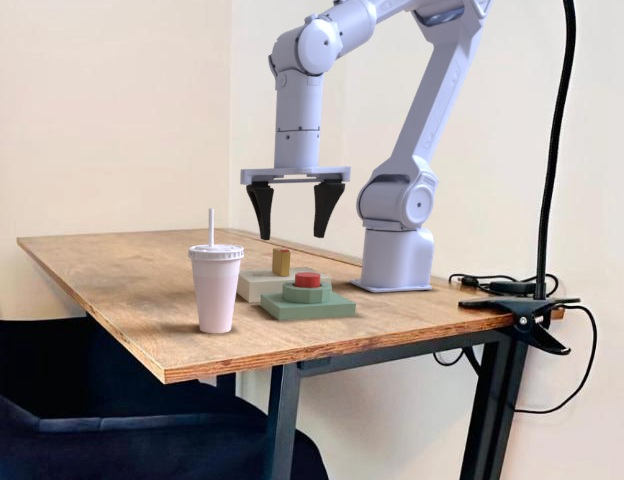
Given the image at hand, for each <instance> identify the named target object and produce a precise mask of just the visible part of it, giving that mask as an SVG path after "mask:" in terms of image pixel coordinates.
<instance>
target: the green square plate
mask: <svg viewBox="0 0 624 480" xmlns="http://www.w3.org/2000/svg"><path fill="white" fill-rule="evenodd" d="M259 303H260V304H259V306H260V307H261V308H262V309H264V310H265V311H266V312H267V313H269V314H270V315H271V316H272V317H274V318H275V319H276V320H277V321H291V320H293V321H294V320H310V319H324V318H327V319H328V318H340V317H342V318H343V317H354V316H356V311H357V310H356V309H357V302H355V301H353V300H350V299H349V298H347V297H344V296H343V295H341V294H339V293H337V292H335V291H333V284H332V283H331V284H329V283H327V282H321V281H320V287H317V288H300V287H295V281H290V282H285V283H284V284H283V287H282V293H269V294H261V298H260V302H259Z"/></svg>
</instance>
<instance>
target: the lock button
mask: <svg viewBox="0 0 624 480" xmlns="http://www.w3.org/2000/svg"><path fill="white" fill-rule="evenodd" d="M320 276H321V275H320V274H318V273H312V272H301V273H296V274H295V287H300V288H317V287H320Z"/></svg>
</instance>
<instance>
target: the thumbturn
mask: <svg viewBox="0 0 624 480" xmlns="http://www.w3.org/2000/svg"><path fill="white" fill-rule="evenodd" d="M271 261H272V262H271V269H272V272H274V273H276V274H278V275H279V276H289V272H290V268H291V251H290V249H288V248H282V247H272V260H271Z"/></svg>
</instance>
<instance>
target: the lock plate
mask: <svg viewBox="0 0 624 480" xmlns="http://www.w3.org/2000/svg"><path fill="white" fill-rule="evenodd" d="M301 272H312V273H318V274H320V275H321V276H320V281H321V282H327V283H329V284H331V285H332V277H331V276H329V275H326V274H325V273H323V272H320V271H318V270H315V269H313V268H311V267H309V266H302V267H290V272H289V276H279V275H278V274H276V273H274V272H272V268H262V269H261V268H259V269H244V270H243V269H242V270H241V269H239V276H238V283H237V290H236V294H238V295H239V296H241V297H242V298H243V299H244V300H245V301H246V302H247V303H260V298H261V294H269V293H282V287H283V284H284V283H285V282H290V281H295V274H296V273H301Z"/></svg>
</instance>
